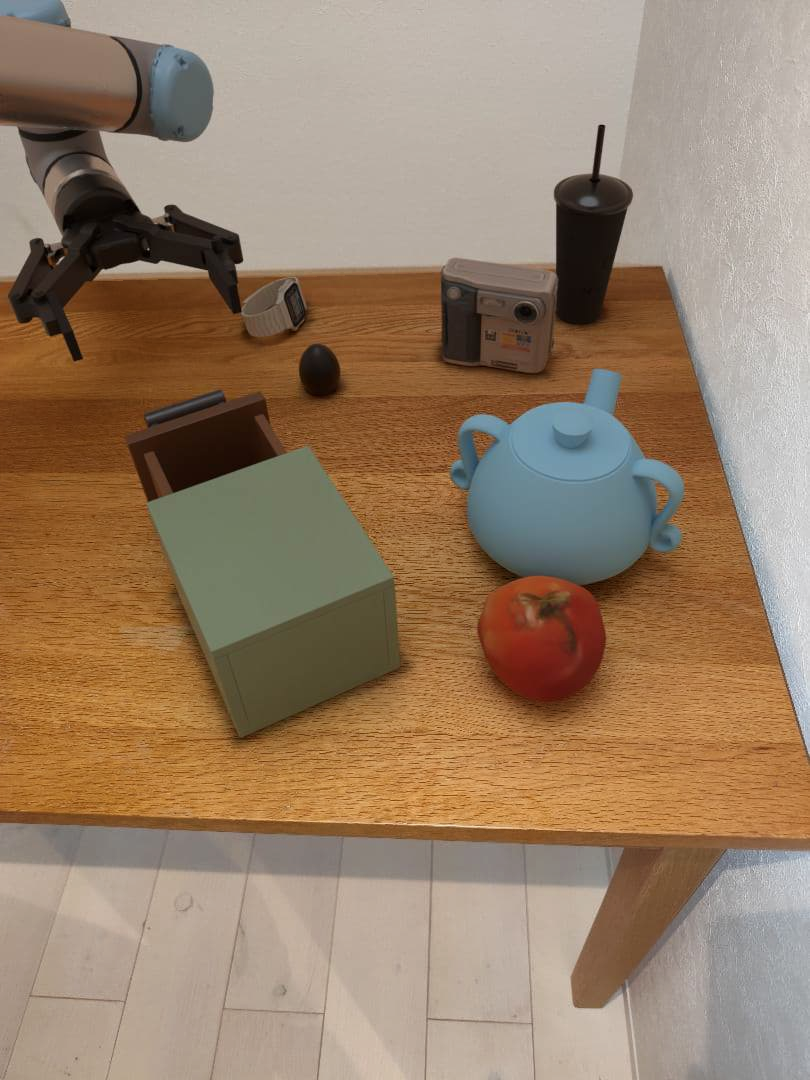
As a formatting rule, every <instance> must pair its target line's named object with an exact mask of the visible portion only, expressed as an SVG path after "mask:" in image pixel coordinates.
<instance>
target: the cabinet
mask: <svg viewBox="0 0 810 1080" xmlns="http://www.w3.org/2000/svg"><path fill="white" fill-rule="evenodd" d="M145 505H146V508H147V511H148V514H149V516H150V519H151V522H152V525H153V527H154V530H155V533H156V536H157V539H158V543H159V545H160V548H161V550H162V553H163V555H164V558H165V561H166V564H167V567H168V570H169V572H170V576H171V578H172V580H173V583H174V586H175V588H176V592H177V595H178V597H179V600H180V602H181V604H182V606H183V609H184V611H185V613H186V616H187V618H188V620H189V623H190V625H191V627H192V629H193V632H194V634H195V636H196V639H197V641H198V644H199V646H200V648H201V650H202V653H203V655H204V657H205V660H206V663H207V665H208V666H209V670H210V671H211V674H212V676H213V679H214V682H215V683H216V686H217V688H218V690H219V693H220V696H221V697H222V700H223V702H224V704H225V707H226V709H227V711H228V714H229V716H230V719H231V720H232V723H233V725H234V727H235V730H236V732H237V734H238V737H239V738H241V739H242V738H244V737H246V736H249V735H251V734H253V733H255V732H258V731H260V730H262V729H265V728H266V727H269V726H272V725H274V724H275V723H278V722H280V721H283V720H284V719H287V718H289V717H291V716H294V715H296V714H298V713H301V712H303V711H305V710H307V709H309V708H311V707H315V706H316V705H319V704H321V703H324V702H325V701H328V700H330V699H332V698H334V697H337V696H339V695H341V694H344V693H345V692H348V691H350V690H352V689H354V688H357V687H359V686H361V685H364V684H366V683H368V682H370V681H373V680H375V679H377V678H379V677H383V676H384V675H386V674H389V673H392V672H393V671H395V670H397V669H400V668H401V662H400V661H401V657H400V641H399V627H398V626H399V625H398V611H397V610H398V609H397V597H396V583H395V575H394V574H393V573H392V571H391V570H390V568H389V566H388V565H387V564H386V562H385V560H384V559H383V557H382V556H381V554H380V552H379V551H378V550H377V548H376V546H375V545H374V543H373V542H372V541H371V539H370V538H369V536H368V534H367V533H366V531H365V529H364V528H363V527H362V525H361V524H360V522H359V520H358V519H357V517H356V516H355V514H354V512H353V511H352V510H351V508H350V507H349V505H348V503H347V502H346V501H345V499H344V497H343V496H342V495H341V493H340V492H339V490H338V488H337V486H336V485H335V483H334V482H333V481H332V479H331V478H330V476H329V474H328V473H327V471H326V470H325V469H324V467H323V465H322V464H321V462H320V461H319V459H318V458H317V456H316V455H315V453H314V451H313V450H312V449H311V447H310V446H309V445H306V446H303V447H300V448H297V449H295V450H292V451H291V450H290V451H289V452H288V451H287V453H286V454H283V455H280V456H277V457H274V458H271V459H269V460H266V461H263V462H260V463H257V464H254V465H252V466H249V467H246V468H243V469H240V470H238V471H235V472H232V473H229V474H226V475H223V476H221V477H218V478H215V479H212V480H209V481H206V482H204V483H201V484H198V485H195V486H192V487H190V488H187V489H184V490H181V491H178V492H175V493H173V494H170V495H167V496H164V497H161V498H159V499H156V500H153V501H150V502H146V503H145Z"/></svg>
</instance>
